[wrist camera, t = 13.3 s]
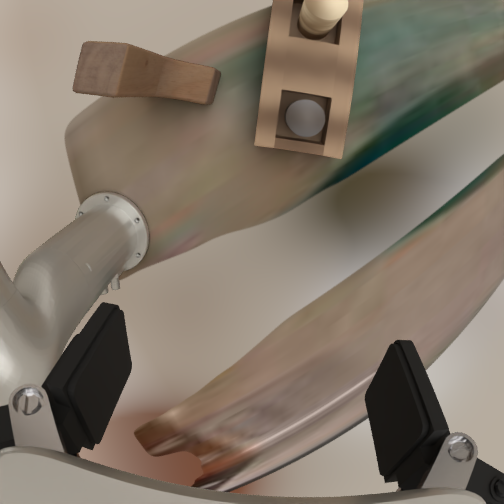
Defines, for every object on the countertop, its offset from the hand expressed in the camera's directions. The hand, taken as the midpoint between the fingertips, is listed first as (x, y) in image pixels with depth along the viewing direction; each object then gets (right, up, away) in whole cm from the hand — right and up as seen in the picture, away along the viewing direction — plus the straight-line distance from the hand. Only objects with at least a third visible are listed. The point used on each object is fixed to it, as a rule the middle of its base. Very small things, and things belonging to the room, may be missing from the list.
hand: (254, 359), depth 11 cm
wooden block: (-9, +25, +26) cm, 37 cm away
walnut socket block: (+7, +26, +24) cm, 36 cm away
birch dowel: (+7, +31, +21) cm, 38 cm away
